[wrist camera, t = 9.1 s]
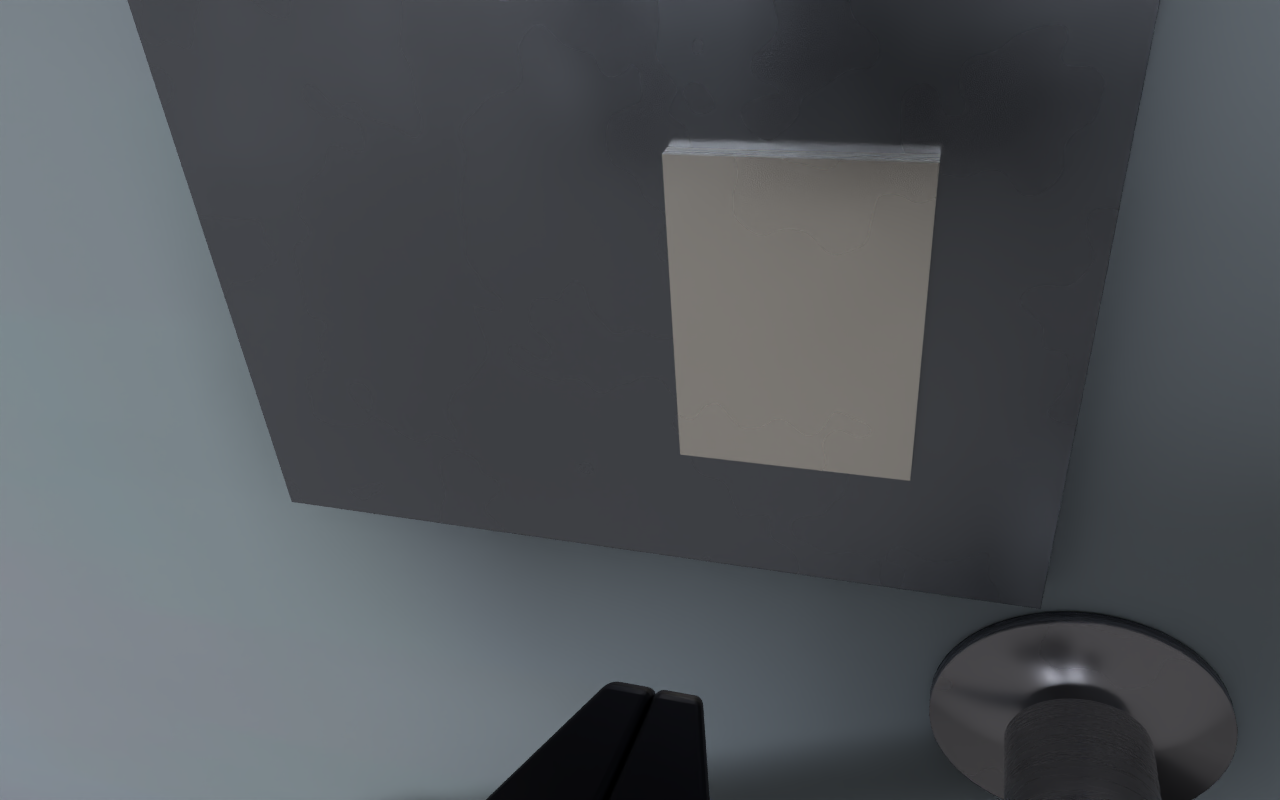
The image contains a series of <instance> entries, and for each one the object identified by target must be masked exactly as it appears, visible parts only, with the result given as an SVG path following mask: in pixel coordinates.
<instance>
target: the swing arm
mask: <svg viewBox="0 0 1280 800" xmlns="http://www.w3.org/2000/svg"><path fill="white" fill-rule="evenodd" d="M1004 800H1162V799H1161V792H1160V786H1159V779H1158V772H1157V766H1156V759H1155V752H1154V746H1153V742H1152V739H1151V737H1150V735H1149V734H1148V732H1147V731H1146V729H1145V728H1144V727H1143V726H1142V725H1141V724H1140V723H1139V722H1138V721H1137V720H1136V719H1134V718H1133V717H1131V716H1130V715H1128V714H1127V713H1125V712H1123V711H1121V710H1119V709H1117V708H1115V707H1112V706H1109V705H1106V704H1103V703H1099V702H1095V701H1090V700H1084V699H1055V700H1049V701H1044V702H1041V703H1037V704H1034V705H1032V706H1030V707H1027V708H1026V709H1024V710H1022V711H1021V712H1019V713H1018V714H1017V715H1016V716H1015V717H1014V718H1013V719H1012V720H1011V721H1010V722H1009V724H1008V726H1007V728H1006V730H1005V735H1004Z"/></svg>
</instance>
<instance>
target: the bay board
mask: <svg viewBox="0 0 1280 800" xmlns="http://www.w3.org/2000/svg"><path fill="white" fill-rule="evenodd" d="M128 3H129V6H130V9H131V12H132V15H133V18H134V21H135V24H136V28H137V31H138V34H139V37H140V40H141V43H142V46H143V49H144V52H145V55H146V58H147V61H148V64H149V67H150V70H151V73H152V76H153V79H154V82H155V85H156V89H157V92H158V95H159V98H160V101H161V104H162V107H163V110H164V113H165V116H166V119H167V122H168V125H169V128H170V131H171V134H172V137H173V140H174V143H175V146H176V150H177V153H178V156H179V159H180V162H181V165H182V168H183V171H184V174H185V177H186V180H187V183H188V186H189V189H190V192H191V195H192V198H193V201H194V204H195V207H196V211H197V214H198V217H199V220H200V223H201V226H202V229H203V232H204V235H205V238H206V241H207V244H208V247H209V250H210V253H211V256H212V259H213V262H214V265H215V268H216V272H217V275H218V278H219V281H220V284H221V287H222V290H223V293H224V296H225V299H226V302H227V305H228V308H229V311H230V314H231V317H232V320H233V323H234V326H235V329H236V333H237V336H238V339H239V342H240V345H241V348H242V351H243V354H244V357H245V360H246V363H247V366H248V369H249V372H250V375H251V378H252V381H253V384H254V387H255V390H256V394H257V397H258V400H259V403H260V406H261V409H262V412H263V415H264V418H265V421H266V424H267V427H268V430H269V433H270V436H271V439H272V442H273V445H274V448H275V452H276V455H277V458H278V461H279V464H280V467H281V470H282V473H283V476H284V479H285V482H286V485H287V488H288V491H289V494H290V497H291V500H292V502H298V503H305V504H312V505H319V506H326V507H333V508H339V509H346V510H353V511H360V512H367V513H374V514H381V515H388V516H395V517H402V518H409V519H416V520H423V521H430V522H437V523H444V524H451V525H458V526H465V527H472V528H479V529H486V530H493V531H500V532H507V533H514V534H521V535H528V536H535V537H542V538H549V539H556V540H563V541H570V542H577V543H584V544H591V545H598V546H605V547H612V548H619V549H626V550H633V551H640V552H647V553H654V554H661V555H668V556H675V557H682V558H689V559H696V560H703V561H710V562H717V563H724V564H731V565H738V566H745V567H752V568H759V569H766V570H773V571H780V572H787V573H794V574H801V575H808V576H815V577H822V578H829V579H836V580H843V581H850V582H857V583H863V584H870V585H877V586H884V587H891V588H898V589H905V590H912V591H919V592H926V593H933V594H940V595H947V596H954V597H961V598H968V599H975V600H982V601H989V602H996V603H1003V604H1010V605H1017V606H1024V607H1031V608H1038V609H1041V604H1042V599H1043V593H1044V588H1045V583H1046V578H1047V573H1048V568H1049V563H1050V558H1051V553H1052V548H1053V543H1054V537H1055V532H1056V527H1057V522H1058V517H1059V512H1060V507H1061V502H1062V497H1063V492H1064V487H1065V482H1066V476H1067V471H1068V466H1069V461H1070V456H1071V451H1072V446H1073V441H1074V436H1075V431H1076V426H1077V420H1078V415H1079V410H1080V405H1081V400H1082V395H1083V390H1084V385H1085V380H1086V375H1087V370H1088V365H1089V359H1090V354H1091V349H1092V344H1093V339H1094V334H1095V329H1096V324H1097V319H1098V314H1099V309H1100V303H1101V298H1102V293H1103V288H1104V283H1105V278H1106V273H1107V268H1108V263H1109V258H1110V253H1111V247H1112V242H1113V237H1114V232H1115V227H1116V222H1117V217H1118V212H1119V207H1120V202H1121V197H1122V192H1123V186H1124V181H1125V176H1126V171H1127V166H1128V161H1129V156H1130V151H1131V146H1132V141H1133V136H1134V130H1135V125H1136V120H1137V115H1138V110H1139V105H1140V100H1141V95H1142V90H1143V85H1144V80H1145V75H1146V69H1147V64H1148V59H1149V54H1150V49H1151V44H1152V39H1153V34H1154V29H1155V24H1156V19H1157V13H1158V8H1159V3H1160V0H128Z"/></svg>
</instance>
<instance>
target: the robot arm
mask: <svg viewBox="0 0 1280 800" xmlns="http://www.w3.org/2000/svg"><path fill="white" fill-rule="evenodd" d="M486 800H710V797H709V783H708V769H707V754H706V740H705V725H704V711H703V702H702V700H701V699H700V698H699V697H698V696H695V695H689V694H684V693H678V692H673V691H667V690H661V691H659V692H657V693H656V694H655V691H654V690H653V689H651V688H649V687H645V686H639V685H634V684H628V683H623V682H612V683H609V684H607V685H605V686H604V687H603V688H602V689H601V690H600V691H599V692H598V693H597V694H596V695H594V696H593V697H592V698H591V699H590V700H589V701H588V702H587V703H586V704H585V705H584V706H583V707H582V708H581V709H580V710H579V711H578V712H577V713H576V714H575V715H574V716H573V717H572V718H571V719H569V720H568V721H567V722H566V723H565V724H564V725H563V726H562V727H561V728H560V729H559V730H558V731H557V732H556V733H555V734H554V735H553V736H552V737H551V738H550V739H549V740H548V741H547V742H546V743H544V744H543V745H542V746H541V747H540V748H539V749H538V750H537V751H536V752H535V753H534V754H533V755H532V756H531V757H530V758H529V759H528V760H527V761H526V762H525V763H524V764H523V765H522V766H521V767H520V768H518V769H517V770H516V771H515V772H514V773H513V774H512V775H511V776H510V777H509V778H508V779H507V780H506V781H505V782H504V783H503V784H502V785H501V786H500V787H499V788H498V789H497V790H496V791H495V792H493V793H492V794H491V795H490V796H489V797H488V798H487V799H486Z"/></svg>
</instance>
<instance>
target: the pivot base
mask: <svg viewBox="0 0 1280 800" xmlns="http://www.w3.org/2000/svg"><path fill="white" fill-rule="evenodd" d="M1055 699H1084V700H1090V701H1095V702H1099V703H1103V704H1106V705H1109V706H1112V707H1115V708H1117V709H1119V710H1121V711H1123V712H1125V713H1127V714H1128V715H1130V716H1131V717H1133V718H1134V719H1136V720H1137V721H1138V722H1139V723H1140V724H1141V725H1142V726H1143V727H1144V728H1145V729H1146V731H1147V732H1148V734H1149V735H1150V737H1151V739H1152V742H1153V746H1154V752H1155V759H1156V766H1157V772H1158V779H1159V786H1160V792H1161V799H1162V800H1192V799H1194V798H1196V797H1197V796H1199V795H1200V794H1202V793H1203V792H1205V791H1206V790H1207V789H1209V788H1210V787H1211V786H1212V785H1213V784H1214V783H1215V782H1216V781H1217V780H1219V778H1220V777H1221V776H1222V775H1223V773H1224V772H1225V771H1226V769H1227V768H1228V766H1229V764H1230V762H1231V760H1232V758H1233V756H1234V753H1235V749H1236V745H1237V731H1238V729H1237V724H1236V718H1235V714H1234V709H1233V705H1232V701H1231V699H1230V696H1229V694H1228V691H1227V689H1226V687H1225V686H1224V684H1223V683H1222V681H1221V679H1220V678H1219V676H1218V675H1217V674H1216V673H1215V671H1214V670H1213V669H1212V668H1211V667H1210V666H1209V665H1208V663H1206V662H1205V661H1204V660H1203V659H1202V658H1201V657H1199V656H1198V655H1197V654H1196V653H1195V652H1194V651H1192V650H1191V649H1189V648H1188V647H1186V646H1185V645H1183V644H1182V643H1180V642H1179V641H1177V640H1175V639H1173V638H1171V637H1169V636H1167V635H1165V634H1163V633H1161V632H1159V631H1156V630H1154V629H1151V628H1149V627H1146V626H1144V625H1141V624H1138V623H1134V622H1131V621H1127V620H1124V619H1120V618H1115V617H1110V616H1104V615H1099V614H1088V613H1078V612H1054V613H1042V614H1033V615H1028V616H1022V617H1017V618H1013V619H1010V620H1006V621H1003V622H999V623H997V624H994V625H992V626H989V627H987V628H984V629H982V630H980V631H979V632H977V633H975V634H973V635H971V636H970V637H968V638H967V639H965V640H964V641H963V642H961V643H960V644H959V645H957V646H956V647H955V648H954V649H953V650H952V651H951V652H950V653H949V654H948V655H947V656H946V657H945V659H944V660H943V662H942V663H941V665H940V666H939V667H938V670H937V672H936V674H935V676H934V679H933V683H932V687H931V692H930V712H929V716H930V722H931V728H932V730H933V733H934V736H935V739H936V741H937V742H938V744H939V746H940V748H941V750H942V751H943V753H944V754H945V755H946V756H947V758H948V759H949V760H950V762H951V763H952V764H953V765H954V766H955V767H956V768H957V769H958V770H959V771H960V772H961V773H962V774H964V775H965V776H966V777H968V778H969V779H970V780H971V781H973V782H974V783H975V784H977V785H979V786H980V787H982V788H983V789H985V790H986V791H988V792H990V793H992V794H994V795H996V796H998V797H1000V798H1002V799H1004V735H1005V730H1006V728H1007V726H1008V724H1009V722H1010V721H1011V720H1012V719H1013V718H1014V717H1015V716H1016V715H1017V714H1018V713H1019V712H1021V711H1022V710H1024V709H1026V708H1027V707H1030V706H1032V705H1034V704H1037V703H1041V702H1044V701H1049V700H1055Z"/></svg>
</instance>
